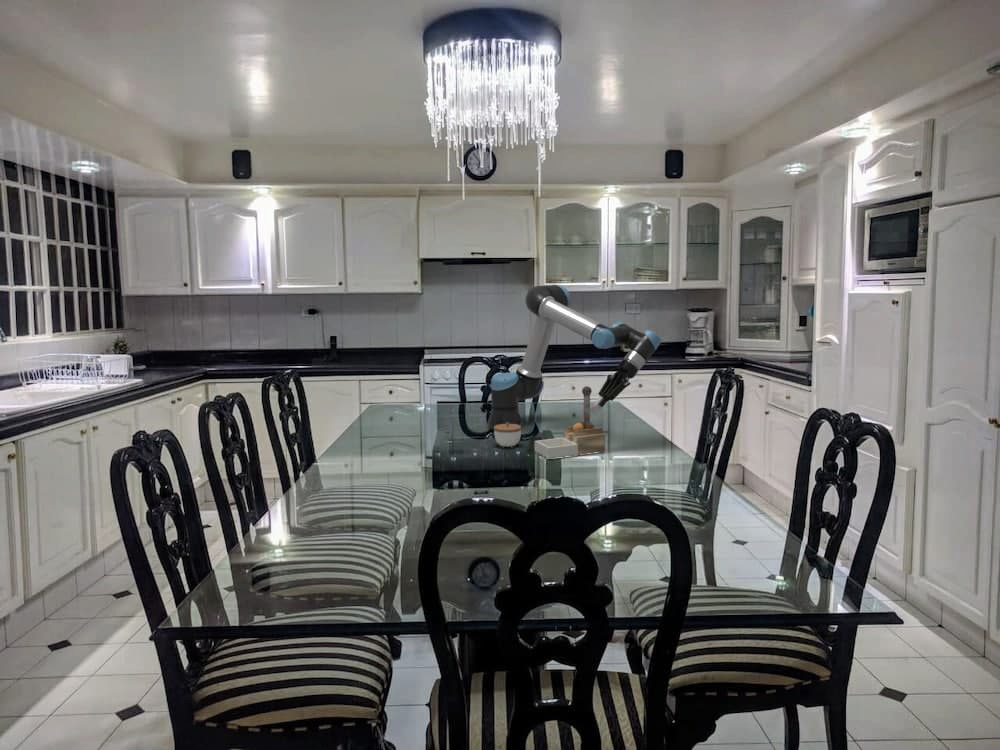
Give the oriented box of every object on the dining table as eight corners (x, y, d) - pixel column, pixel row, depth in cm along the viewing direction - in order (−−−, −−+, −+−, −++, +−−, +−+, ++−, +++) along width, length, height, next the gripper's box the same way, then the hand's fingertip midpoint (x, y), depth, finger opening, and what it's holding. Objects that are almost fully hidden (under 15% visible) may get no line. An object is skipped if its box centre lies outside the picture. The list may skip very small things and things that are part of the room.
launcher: (563, 449, 281) (563, 426, 279) (590, 445, 285) (590, 423, 284) (577, 455, 271) (577, 432, 269) (605, 452, 275) (605, 428, 274)
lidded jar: (498, 450, 281) (497, 426, 279) (491, 443, 291) (490, 420, 289) (524, 447, 284) (524, 424, 282) (516, 441, 294) (516, 418, 292)
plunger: (579, 431, 279) (579, 385, 276) (587, 430, 280) (587, 385, 277) (585, 433, 274) (585, 387, 272) (593, 432, 276) (594, 386, 273)
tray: (534, 452, 276) (534, 440, 276) (562, 448, 281) (562, 437, 280) (549, 460, 266) (548, 448, 265) (577, 456, 270) (577, 444, 269)
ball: (578, 433, 278) (569, 430, 277) (581, 423, 278) (573, 420, 277) (583, 435, 275) (574, 433, 273) (586, 425, 275) (578, 423, 273)
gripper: (646, 373, 276) (608, 421, 272) (627, 369, 288) (590, 414, 284) (634, 360, 273) (596, 408, 269) (615, 356, 285) (578, 402, 281)
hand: (593, 411), depth 276 cm, fingers closed
